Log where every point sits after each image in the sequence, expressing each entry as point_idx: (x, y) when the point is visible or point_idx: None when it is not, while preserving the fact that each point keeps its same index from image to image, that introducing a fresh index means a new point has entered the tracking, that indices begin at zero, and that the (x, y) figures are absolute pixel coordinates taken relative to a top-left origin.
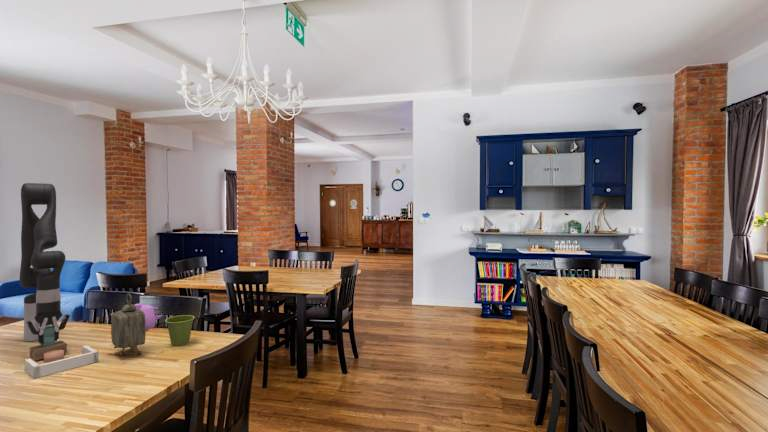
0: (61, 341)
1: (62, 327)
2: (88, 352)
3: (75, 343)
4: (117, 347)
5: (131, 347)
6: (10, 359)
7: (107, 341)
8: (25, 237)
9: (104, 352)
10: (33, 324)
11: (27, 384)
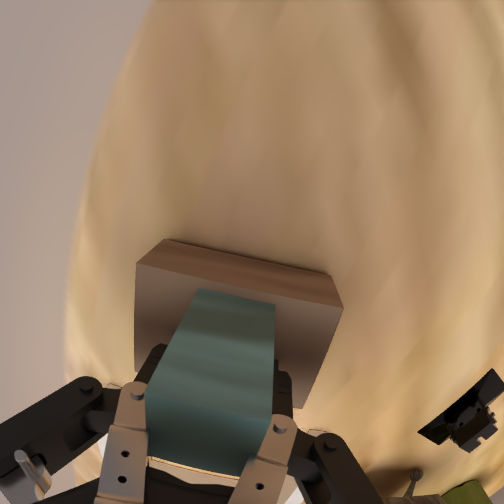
0: (322, 341)
1: (305, 480)
2: (287, 491)
3: (456, 190)
4: (426, 433)
5: (410, 477)
6: (107, 150)
7: (500, 325)
8: None
9: (369, 448)
10: (46, 473)
11: None
